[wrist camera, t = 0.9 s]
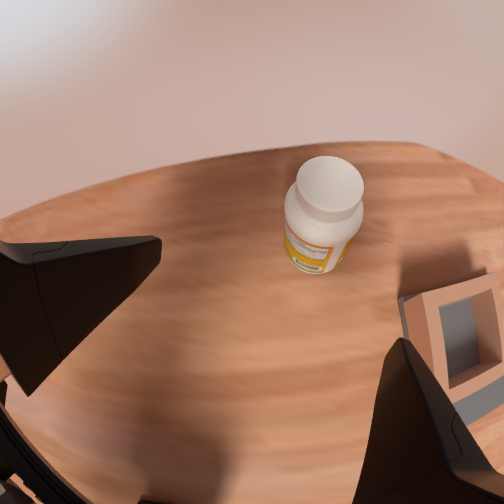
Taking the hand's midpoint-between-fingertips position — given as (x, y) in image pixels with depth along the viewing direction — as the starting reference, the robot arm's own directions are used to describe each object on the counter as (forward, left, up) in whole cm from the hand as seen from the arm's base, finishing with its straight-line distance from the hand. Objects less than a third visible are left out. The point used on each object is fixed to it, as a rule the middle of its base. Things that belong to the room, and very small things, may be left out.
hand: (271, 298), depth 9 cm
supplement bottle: (+7, -4, -14) cm, 16 cm away
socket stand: (-6, -17, -14) cm, 22 cm away
